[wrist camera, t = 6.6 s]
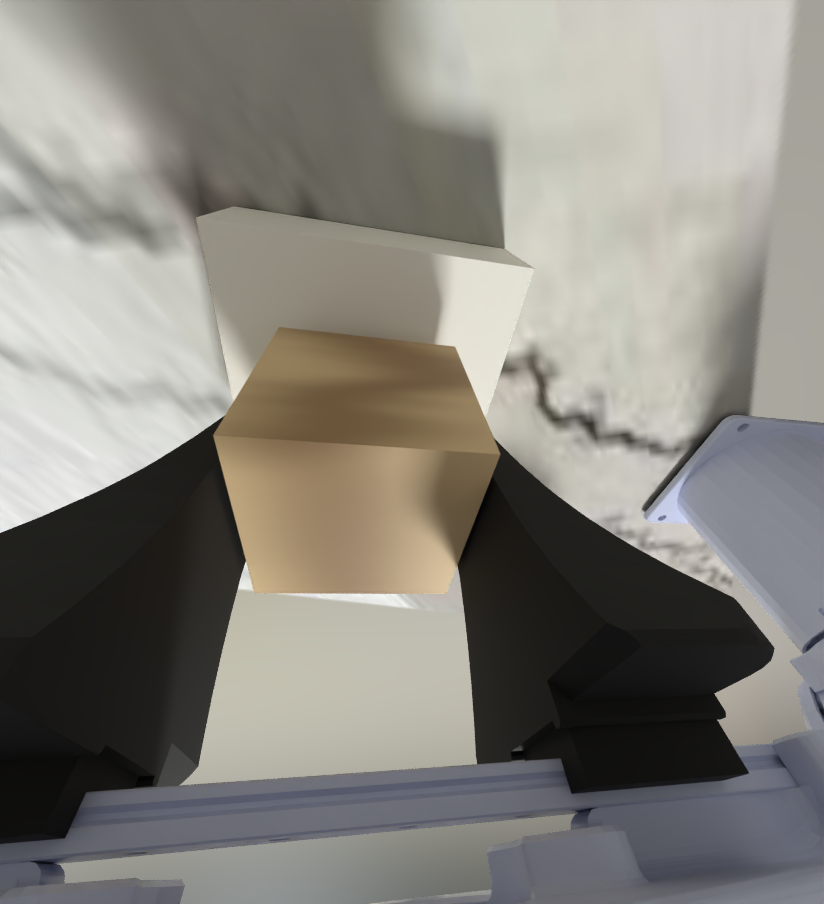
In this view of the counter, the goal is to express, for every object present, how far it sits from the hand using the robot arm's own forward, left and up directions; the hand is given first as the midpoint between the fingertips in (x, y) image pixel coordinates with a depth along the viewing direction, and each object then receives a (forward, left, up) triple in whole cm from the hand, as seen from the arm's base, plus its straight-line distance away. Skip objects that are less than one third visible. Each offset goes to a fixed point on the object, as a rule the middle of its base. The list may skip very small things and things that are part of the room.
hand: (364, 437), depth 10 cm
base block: (0, 0, -6) cm, 6 cm away
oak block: (0, 0, -2) cm, 2 cm away
